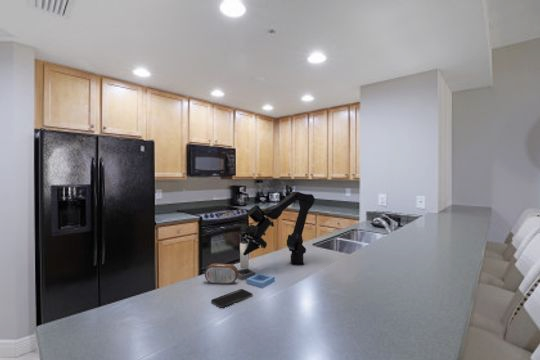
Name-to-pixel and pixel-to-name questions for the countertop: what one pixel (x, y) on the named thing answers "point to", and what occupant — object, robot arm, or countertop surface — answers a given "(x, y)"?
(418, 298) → the countertop surface
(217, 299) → the phone
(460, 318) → the countertop surface
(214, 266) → the tin
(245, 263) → the cream canister charcoal lid
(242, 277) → the gray socket
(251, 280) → the blue bezel socket
